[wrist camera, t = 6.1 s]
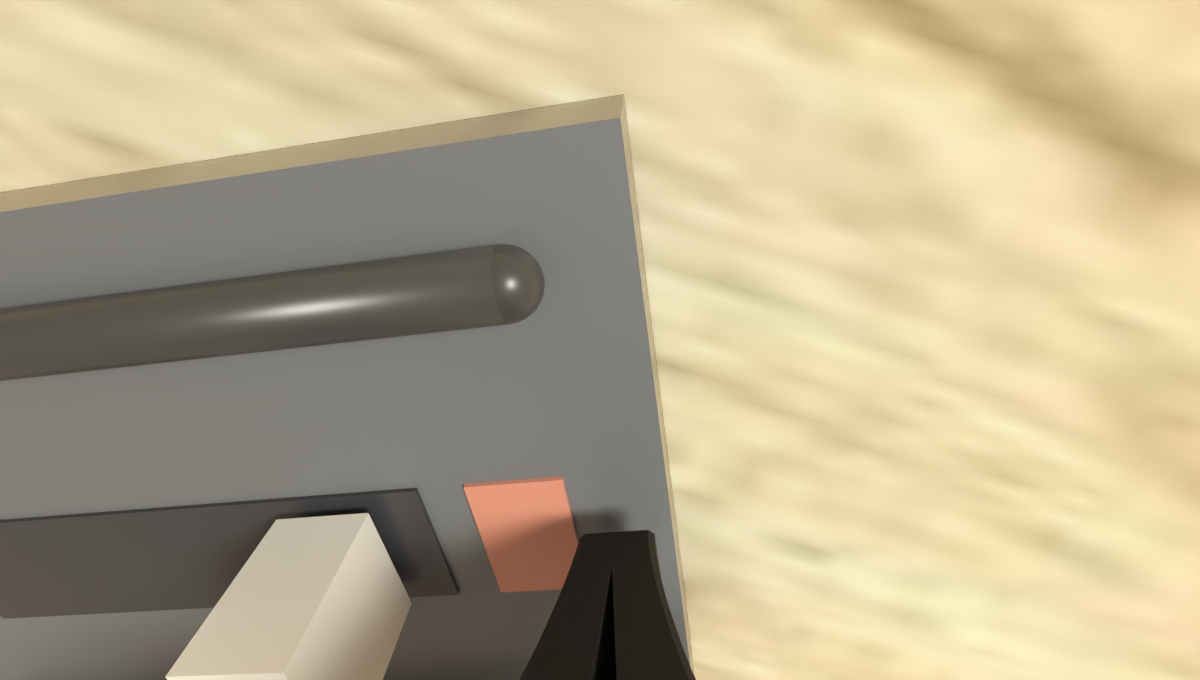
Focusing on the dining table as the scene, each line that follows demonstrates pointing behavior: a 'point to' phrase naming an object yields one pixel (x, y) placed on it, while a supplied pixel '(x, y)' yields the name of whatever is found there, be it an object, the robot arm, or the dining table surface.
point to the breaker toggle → (304, 608)
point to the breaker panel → (328, 386)
